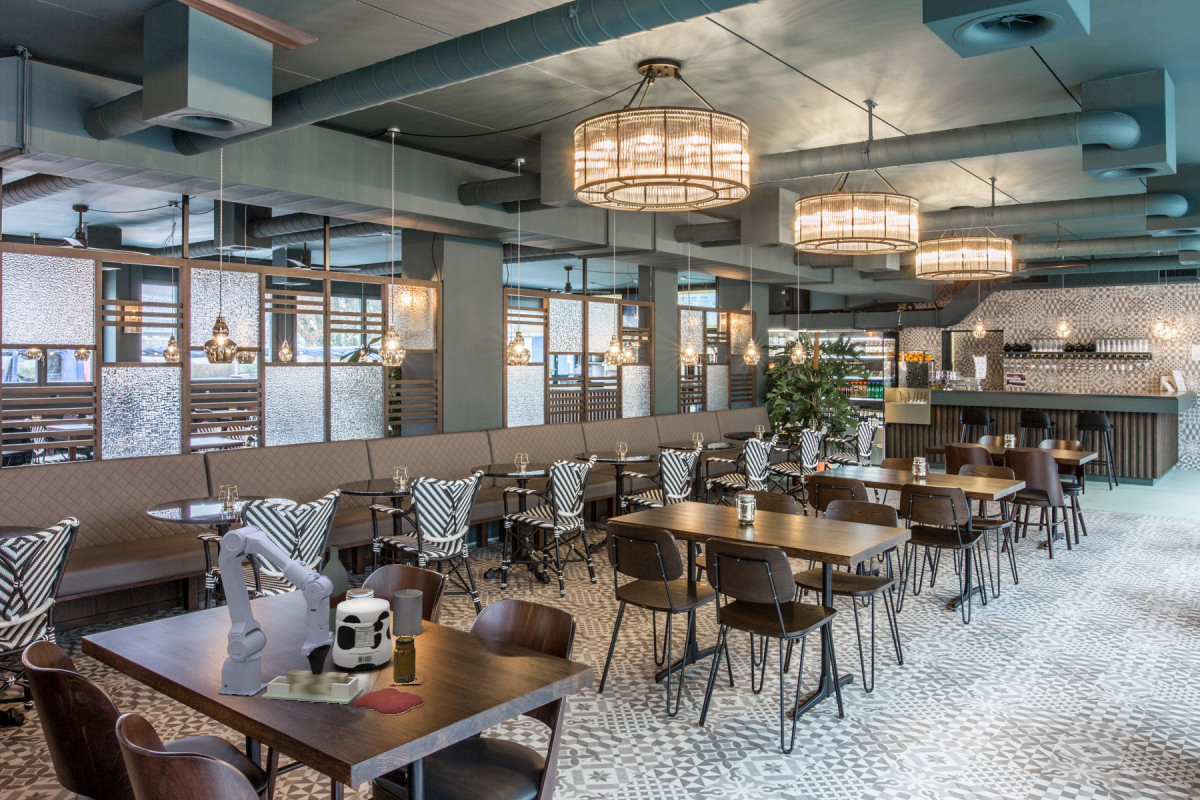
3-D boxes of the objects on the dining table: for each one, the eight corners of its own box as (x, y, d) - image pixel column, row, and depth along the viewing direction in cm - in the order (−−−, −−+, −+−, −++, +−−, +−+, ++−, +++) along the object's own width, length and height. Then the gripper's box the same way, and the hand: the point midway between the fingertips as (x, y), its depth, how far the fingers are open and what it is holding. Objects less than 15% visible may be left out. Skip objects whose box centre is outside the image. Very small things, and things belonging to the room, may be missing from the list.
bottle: (312, 633, 267) (314, 544, 267) (329, 626, 276) (330, 539, 276) (336, 636, 264) (338, 546, 264) (353, 629, 273) (354, 541, 273)
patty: (345, 706, 208) (345, 698, 208) (384, 689, 220) (384, 682, 220) (394, 721, 199) (394, 713, 199) (432, 703, 211) (432, 695, 211)
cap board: (260, 698, 210) (261, 695, 210) (280, 685, 220) (280, 682, 220) (347, 704, 208) (347, 701, 208) (363, 690, 218) (363, 687, 218)
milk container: (364, 651, 250) (365, 594, 250) (404, 661, 241) (405, 602, 241) (319, 667, 236) (320, 606, 235) (360, 678, 227) (361, 615, 226)
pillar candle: (390, 630, 272) (390, 586, 272) (418, 627, 277) (419, 584, 276) (395, 639, 264) (396, 594, 263) (425, 635, 268) (425, 591, 267)
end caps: (267, 693, 213) (267, 679, 212) (278, 685, 218) (278, 672, 218) (348, 698, 210) (348, 685, 210) (358, 690, 216) (358, 677, 216)
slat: (285, 692, 213) (286, 673, 213) (291, 688, 216) (291, 669, 216) (342, 695, 211) (343, 677, 211) (347, 691, 214) (348, 673, 214)
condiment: (394, 676, 229) (394, 635, 229) (424, 676, 229) (424, 634, 229) (389, 686, 221) (390, 643, 221) (420, 685, 222) (421, 642, 222)
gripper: (319, 631, 206) (318, 684, 206) (343, 616, 220) (343, 665, 221) (293, 630, 207) (292, 682, 207) (319, 615, 221) (319, 664, 221)
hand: (317, 673), depth 214 cm, fingers closed, pressing on slat
